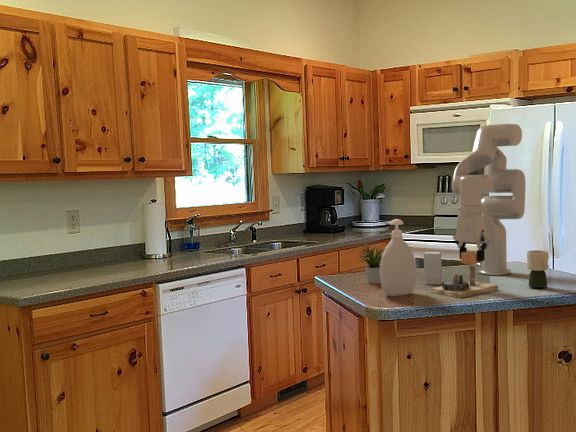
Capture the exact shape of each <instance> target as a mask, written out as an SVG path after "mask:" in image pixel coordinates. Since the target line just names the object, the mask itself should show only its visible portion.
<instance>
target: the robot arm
mask: <svg viewBox="0 0 576 432" xmlns="http://www.w3.org/2000/svg"><path fill="white" fill-rule="evenodd" d="M522 131H523V130H522V128H521V126H520V125H519V124H516V123H502V124H499V123H498V124H489V125H482V126H481V127H479V128H478V129H477V131H476V133H475V137H474V141H473V147H472V150H471V153H470V154H469V155H467V156H465V158H463V159H462V160H461V161H459V163H458V164H457V165H456V167H455V169H454V172H453V177H452V180H451V190H452V192H453V193H454V194H455V195H456V196H459V207H458V208H457V209H458V211H459V213H458V214H457V219H456V229H455V230H456V231H455V234H454V235H453V236H452V239H453V240H454V241H455V244H456V246H457V248H458V249H459V260H461V253H463V252H468V249H467V247H466V246H467V244H475V245H476V247H477V250H476V252H477V261H479V262H480V261H483V263H480V264H474V265H475V266H476V267H479V269H478V270H477V271H478V272H477V273H478V274H480V275H485V276H506V275H510V274H511V273H512V272H511V271H512V270H511V269H509V268H508V264H507V262H508V258H507V255H508V254H507V229H506V227H505V226H504V224H503V223H502V222H501V221H500V220H520V219H522V218H523V217H524V216H525V209H526V205H525V204H526V187H527V186H526V176H525V173H524V171H523V170H522V169H517V168H511V169H509V168H507V161H508V160H507V156H506V154H504V152H503V151H502V150H501V149H500V148H499V147H515V146H516V147H517V146H518V145H519V144H520V143H521V142H522V139H523V132H522ZM483 168H484V171H483V172H484V173H483V174H470V173H472V172H475V171H478V170H480V169H483ZM490 193H491V194H511V195H489V194H490ZM487 195H488V196H487Z"/></svg>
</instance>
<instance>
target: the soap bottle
mask: <svg viewBox="0 0 576 432" xmlns="http://www.w3.org/2000/svg"><path fill="white" fill-rule="evenodd" d="M387 224H389V225H390V226H394V229H393V230H392V231H391V239H390V241H389V242H388V243H387V245H385V247H386V248H385V249H384V250H383V251H382V252H383V253H382V254H381V255H382V257H381V260H380V261H381V262H380V264H379V265H380V287H381V289H382V291H383V292H384V294H385V295H386V297H391V298H392V297H393V298H394V297H395V298H396V297H401V296H402V297H403V296H407V295H410V294H412V292H413V291H414V288H415V286H416V281H417V280H416V279H417V267H416V266H417V265H416V260H415V255H414V253H413V250H412V249H411V248H410V246H409V244H408V243H407V242H406V241H405V240H404V239H403V231H402V230H401V229H399V225H400V226H401V225H404V222H403V220H401V219H398V218H394V219H392V220H390V221H387Z"/></svg>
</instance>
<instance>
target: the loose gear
mask: <svg viewBox="0 0 576 432" xmlns="http://www.w3.org/2000/svg"><path fill="white" fill-rule="evenodd" d="M460 260H461V261H460V262H461V263H463V264H465V265H468V264H469V265H475V264H480V263H483V261H480V262H479V261H477V251H471V250H470V251H467V252H463V253H461V259H460Z"/></svg>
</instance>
